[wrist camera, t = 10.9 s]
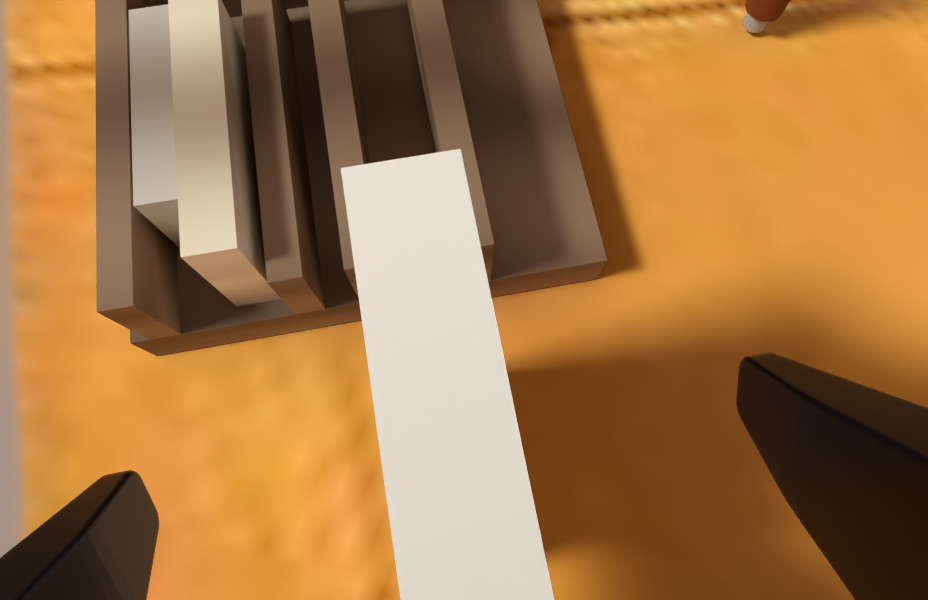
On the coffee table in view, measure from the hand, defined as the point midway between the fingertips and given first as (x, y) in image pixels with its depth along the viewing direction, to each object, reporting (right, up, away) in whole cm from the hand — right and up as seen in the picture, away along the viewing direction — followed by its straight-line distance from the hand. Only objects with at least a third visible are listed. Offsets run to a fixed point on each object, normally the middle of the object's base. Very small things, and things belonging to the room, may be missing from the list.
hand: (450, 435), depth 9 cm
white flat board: (0, -3, +8) cm, 8 cm away
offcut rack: (-3, +7, +11) cm, 13 cm away
